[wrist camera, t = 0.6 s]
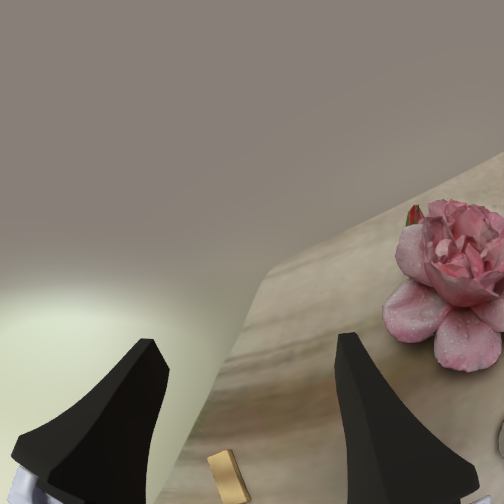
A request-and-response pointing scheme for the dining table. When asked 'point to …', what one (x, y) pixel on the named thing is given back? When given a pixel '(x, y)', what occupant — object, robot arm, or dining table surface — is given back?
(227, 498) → the spatula
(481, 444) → the dining table surface
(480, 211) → the flower
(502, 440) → the salt shaker
